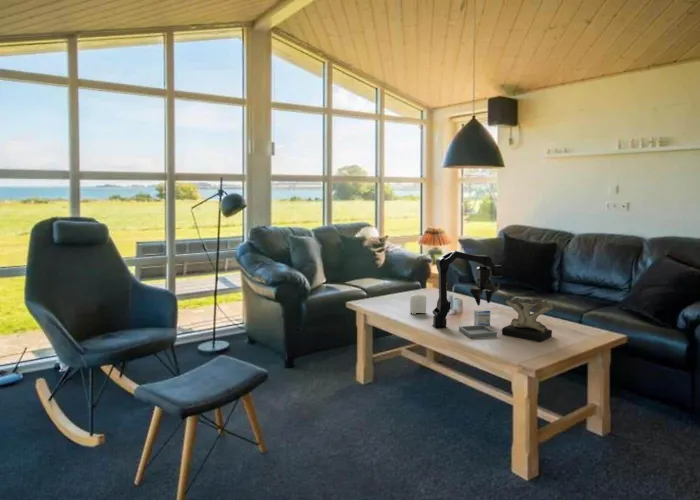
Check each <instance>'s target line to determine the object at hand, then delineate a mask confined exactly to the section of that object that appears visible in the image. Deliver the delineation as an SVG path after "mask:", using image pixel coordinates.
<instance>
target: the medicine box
mask: <svg viewBox="0 0 700 500" xmlns="http://www.w3.org/2000/svg"><path fill="white" fill-rule="evenodd" d="M473 313H474V314H473V316H474V319H473V323H474V325H485V326H487V327H489V326H490V325H491V310H489V309H487V308H486V309H475V310H474V312H473ZM474 325H473V326H474Z"/></svg>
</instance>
